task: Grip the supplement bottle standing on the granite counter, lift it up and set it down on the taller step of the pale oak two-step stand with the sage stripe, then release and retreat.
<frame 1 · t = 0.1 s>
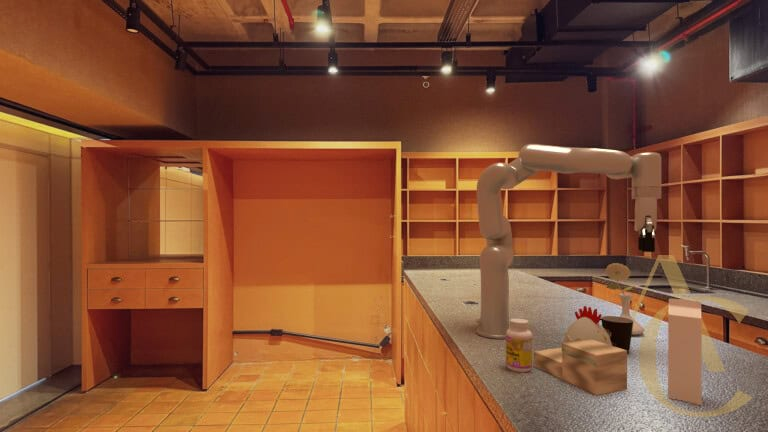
hand: (646, 250, 122), 31 cm above the counter, tool pointing down, fingers open, 9 cm apart
stand: (576, 376, 104), on the counter
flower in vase: (623, 332, 147), on the counter
coffee mug: (615, 351, 126), on the counter
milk: (684, 398, 92), on the counter
supplement bottle: (518, 369, 109), on the counter
kitchen timer: (587, 358, 119), on the counter
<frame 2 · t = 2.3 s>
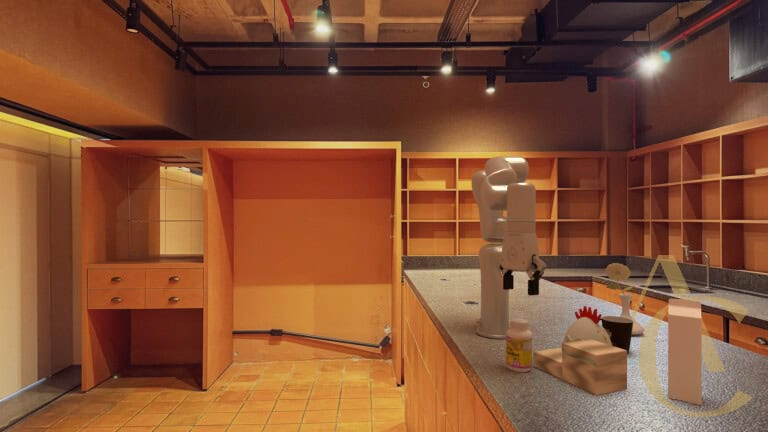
hand: (520, 292, 110), 20 cm above the counter, tool pointing down, fingers open, 9 cm apart
nothing on the counter moved.
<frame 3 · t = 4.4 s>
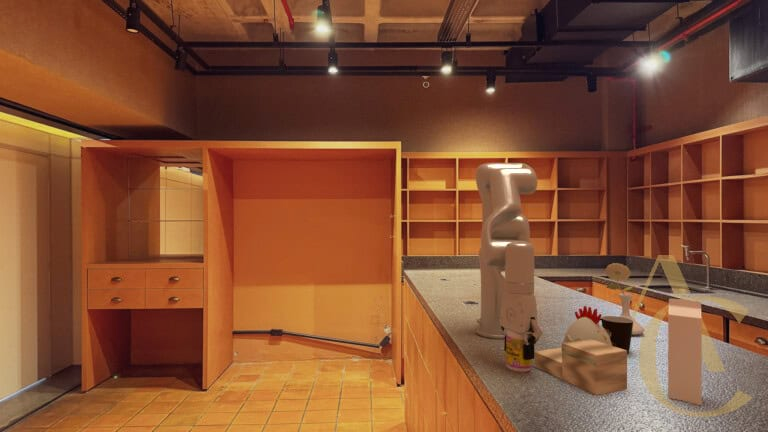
hand: (518, 354, 109), 4 cm above the counter, tool pointing down, fingers closed on supplement bottle, 6 cm apart
supplement bottle: (518, 369, 109), on the counter, touching gripper
everything else where it was.
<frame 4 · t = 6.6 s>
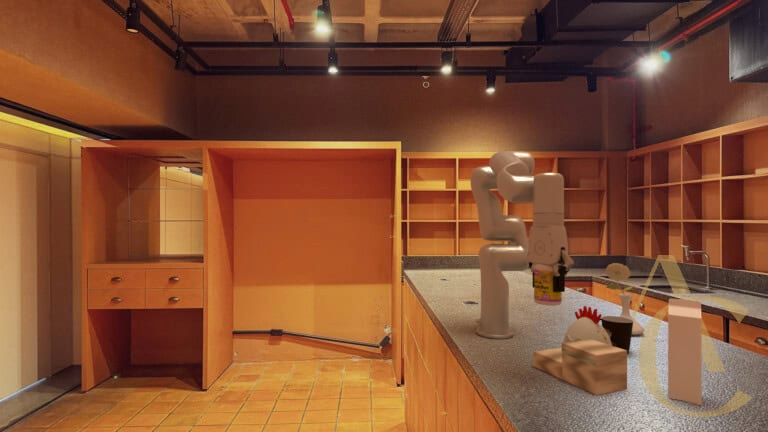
hand: (548, 289, 105), 22 cm above the counter, tool pointing down, fingers closed on supplement bottle, 6 cm apart
supplement bottle: (547, 304, 105), point 18 cm above the counter, touching gripper
everything else where it was.
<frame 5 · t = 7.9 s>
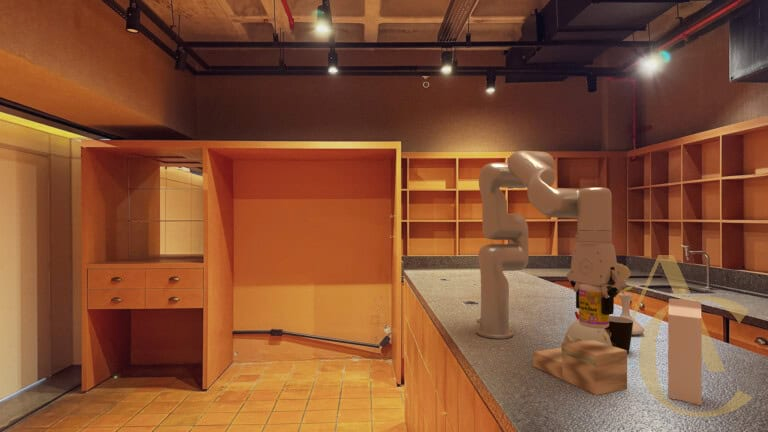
hand: (594, 310, 99), 18 cm above the counter, tool pointing down, fingers closed on supplement bottle, 6 cm apart
supplement bottle: (593, 326, 99), point 14 cm above the counter, touching gripper
everything else where it was.
when the fingers open (14 cm above the counter, at t = 9.0 s): supplement bottle drops 1 cm, resting on stand.
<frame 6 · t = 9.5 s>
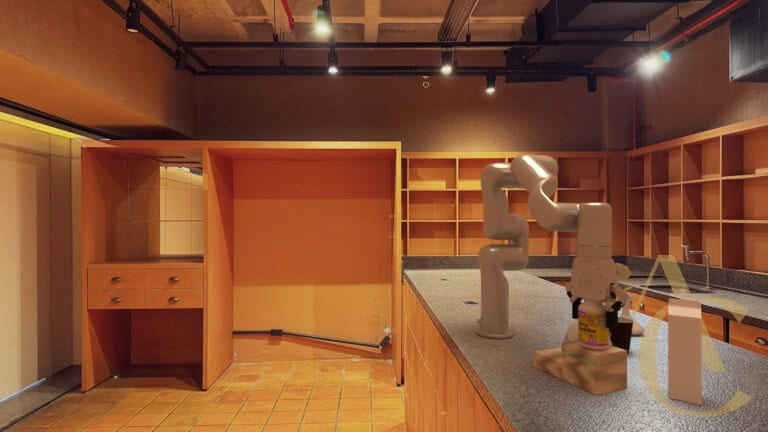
hand: (593, 322, 99), 15 cm above the counter, tool pointing down, fingers open, 9 cm apart
supplement bottle: (593, 347, 99), point 9 cm above the counter, touching stand
everything else where it was.
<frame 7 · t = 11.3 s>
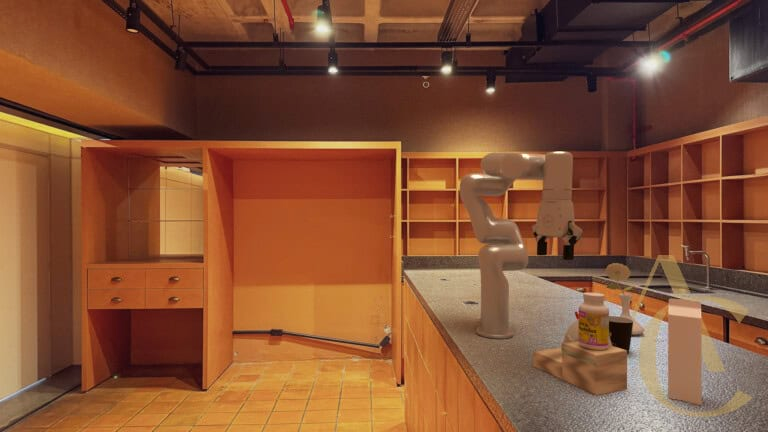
hand: (554, 257, 114), 30 cm above the counter, tool pointing down, fingers open, 9 cm apart
nothing on the counter moved.
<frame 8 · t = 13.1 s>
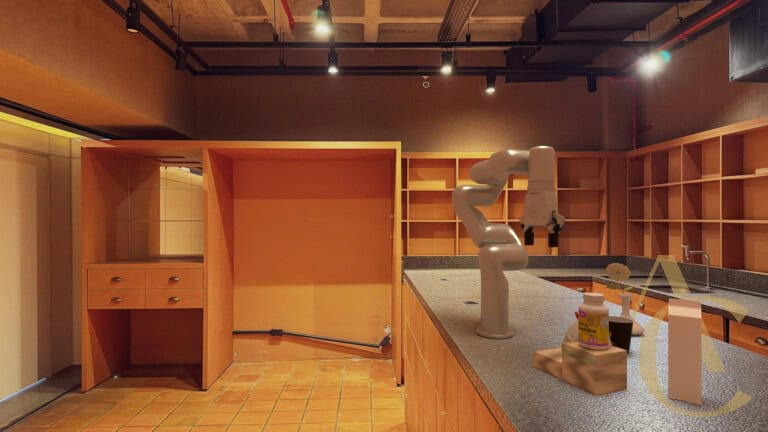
hand: (540, 246, 120), 32 cm above the counter, tool pointing down, fingers open, 9 cm apart
nothing on the counter moved.
at the end: supplement bottle inside the target area on the stand (0.1 cm from its centre), point 8.8 cm above the stand's base; supplement bottle tilted 0°; the gripper is holding nothing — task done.
